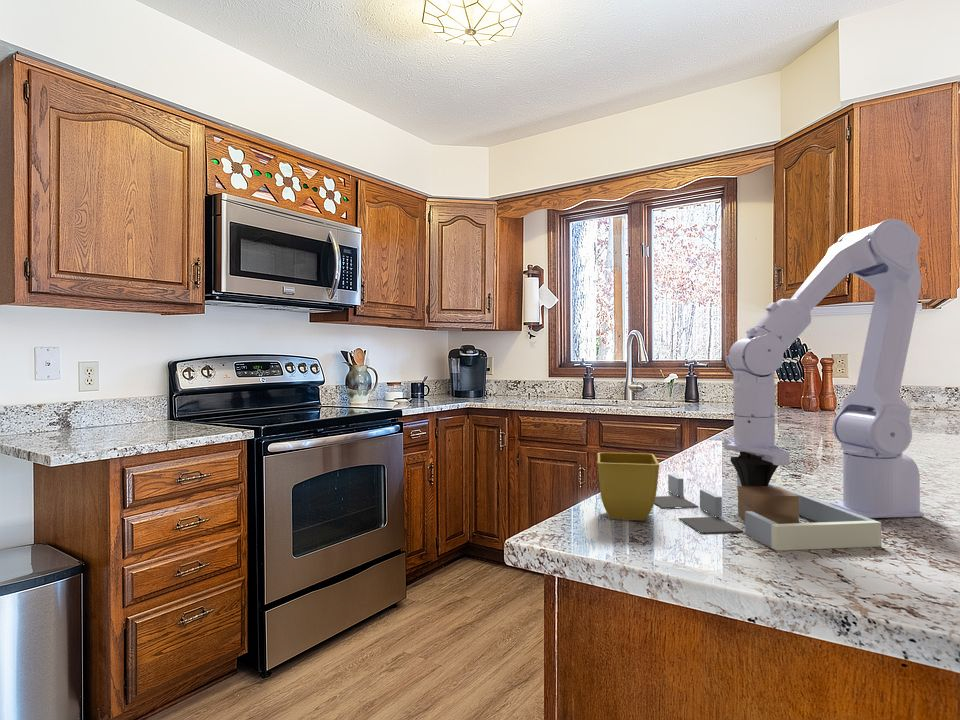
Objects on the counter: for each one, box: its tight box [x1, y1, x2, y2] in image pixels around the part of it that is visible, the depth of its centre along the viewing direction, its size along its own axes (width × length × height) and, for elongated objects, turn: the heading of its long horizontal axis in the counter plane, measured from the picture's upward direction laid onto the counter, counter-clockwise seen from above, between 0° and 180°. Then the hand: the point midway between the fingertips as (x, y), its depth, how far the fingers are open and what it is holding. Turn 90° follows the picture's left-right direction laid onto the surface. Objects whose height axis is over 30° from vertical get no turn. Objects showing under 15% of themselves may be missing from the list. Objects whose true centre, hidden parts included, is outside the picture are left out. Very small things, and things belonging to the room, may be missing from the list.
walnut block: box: [737, 485, 800, 524], centre depth 83 cm, size 6×6×4 cm
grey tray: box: [667, 473, 874, 549], centre depth 88 cm, size 14×31×3 cm, turn 5°
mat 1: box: [654, 495, 699, 509], centre depth 94 cm, size 6×7×1 cm
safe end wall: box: [770, 519, 882, 551], centre depth 72 cm, size 14×1×3 cm, turn 95°
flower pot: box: [596, 451, 660, 522], centre depth 86 cm, size 9×9×9 cm
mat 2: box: [678, 516, 744, 534], centre depth 81 cm, size 6×7×1 cm
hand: (754, 503), depth 88 cm, fingers closed
